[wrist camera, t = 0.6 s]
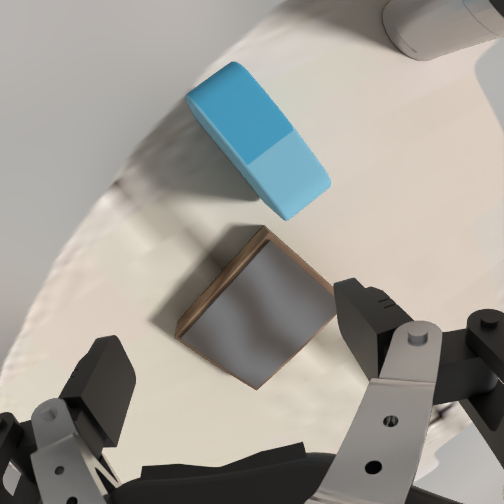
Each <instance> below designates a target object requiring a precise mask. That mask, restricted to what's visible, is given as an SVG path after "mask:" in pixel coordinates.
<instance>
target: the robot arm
mask: <svg viewBox="0 0 504 504" xmlns="http://www.w3.org/2000/svg"><path fill="white" fill-rule="evenodd" d="M383 24H384V27H385V30H386V32H387V34H388V36H389V38H390V39H391V41H392V42H393V43H394V44H395V46H396V47H397V48H398V49H400V50H401V51H402V52H403V53H404V54H406V55H407V56H409V57H411V58H413V59H416V60H420V61H427V60H431V59H434V58H437V57H440V56H443V55H445V54H449V53H452V52H455V51H458V50H461V49H464V48H467V47H470V46H473V45H476V44H480V43H483V42H486V41H490V40H493V39H497V38H500V37H504V0H392V1H391V2H389V3H388V4H387V5H386V6H385V8H384V11H383ZM333 289H334V296H335V304H336V311H337V319H338V325H339V329H340V332H341V335H342V337H343V339H344V340H345V342H346V344H347V345H348V347H349V349H350V350H351V352H352V354H353V355H354V357H355V358H356V360H357V362H358V363H359V365H360V367H361V368H362V370H363V372H364V373H365V375H366V377H367V378H368V380H369V385H368V387H367V390H366V392H365V394H364V397H363V399H362V401H361V404H360V406H359V408H358V411H357V413H356V415H355V417H354V420H353V422H352V424H351V426H350V428H349V430H348V432H347V435H346V437H345V439H344V441H343V443H342V445H341V447H340V449H339V451H338V453H337V455H336V454H330V453H316V452H313V453H306V452H305V448H304V444H303V442H300V443H296V444H292V445H288V446H284V447H280V448H275V449H271V450H266V451H261V452H259V453H256V454H254V455H251V456H249V457H246V458H244V459H241V460H238V461H236V462H233V463H230V464H228V465H225V466H222V467H205V466H194V465H185V464H169V465H154V466H142V471H141V477H140V478H137V479H134V480H131V481H129V482H127V483H124V484H122V483H121V481H120V480H119V478H118V476H117V475H116V473H115V472H114V470H113V468H112V467H111V465H110V463H109V462H108V460H107V458H106V457H105V455H104V454H103V453H102V449H103V448H104V447H117V444H118V441H119V437H120V434H121V430H122V427H123V423H124V420H125V417H126V413H127V410H128V407H129V404H130V400H131V397H132V394H133V391H134V388H135V384H136V375H135V371H134V369H133V366H132V364H131V362H130V360H129V358H128V356H127V354H126V352H125V350H124V348H123V346H122V344H121V342H120V340H119V339H118V337H117V336H115V335H112V336H106V337H101V338H97V339H96V340H95V341H94V343H93V345H92V346H91V348H90V350H89V352H88V353H87V354H86V355H85V356H84V357H83V358H82V359H81V360H80V361H79V362H78V364H77V366H76V367H75V369H74V371H73V372H72V374H71V376H70V378H69V379H68V381H67V383H66V385H65V386H64V388H63V390H62V392H61V394H60V395H59V397H58V398H53V399H49V400H47V401H45V402H43V403H42V404H40V405H39V406H38V407H37V408H36V409H35V410H34V412H33V414H32V416H31V420H29V421H25V422H22V423H19V422H18V421H17V419H16V418H15V417H14V415H13V414H12V413H10V412H4V413H1V414H0V504H463V503H460V502H457V501H454V500H451V499H448V498H445V497H442V496H439V495H437V494H434V493H431V492H428V491H426V490H423V489H420V488H418V487H416V486H413V482H414V478H415V475H416V472H417V468H418V465H419V461H420V458H421V454H422V450H423V446H424V443H425V439H426V434H427V430H428V426H429V421H430V417H431V412H432V407H433V405H438V404H443V403H448V402H453V401H459V403H460V404H461V406H462V407H463V409H464V410H465V411H466V413H467V414H468V416H469V417H470V419H471V420H472V421H473V423H474V424H475V426H476V427H477V429H478V430H479V432H480V433H481V435H482V436H483V438H484V439H485V440H486V442H487V444H488V445H489V447H490V448H491V450H492V451H493V453H494V454H495V456H496V458H497V459H498V461H499V462H500V464H501V465H502V467H503V469H504V384H503V383H504V313H503V312H501V311H498V310H494V309H482V310H478V311H475V312H473V313H472V314H471V315H470V316H469V317H468V319H467V326H466V329H461V330H455V331H450V332H442V331H441V329H440V328H439V327H438V326H437V325H435V324H433V323H431V322H427V321H414V320H413V319H412V318H411V317H410V316H409V315H408V314H407V313H406V312H405V311H404V310H403V309H402V308H401V307H400V306H398V305H396V303H395V302H394V301H393V300H392V299H390V297H389V296H388V295H387V294H386V293H385V292H384V291H382V290H380V289H377V288H374V287H368V288H364V287H363V286H362V285H361V284H360V283H359V282H358V281H357V280H356V279H355V278H350V279H347V280H343V281H340V282H336V283H334V286H333ZM498 378H499V379H500V380H501V381H502V382H503V383H502V382H501V381H500V380H499V379H498ZM9 461H10V462H11V463H12V464H13V465H14V466H15V468H16V469H17V470H18V471H19V472H20V473H21V477H20V479H19V482H18V484H17V487H16V490H15V493H14V495H13V496H12V495H11V494H10V493H9V492H8V491H7V490H6V489H5V487H4V485H3V480H2V479H3V475H4V473H5V470H6V468H7V466H8V464H9ZM503 498H504V487H503Z"/></svg>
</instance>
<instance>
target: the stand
mask: <svg viewBox="0 0 504 504" xmlns="http://www.w3.org/2000/svg"><path fill="white" fill-rule="evenodd" d="M336 314H337V311H336V304H335V296H334V289H333V286H331V285H330V284H329V283H328V282H327V281H326V280H325V279H324V278H323V277H322V276H320V275H319V274H318V273H317V272H316V271H315V270H314V269H313V268H312V267H310V266H309V265H308V264H307V263H306V262H305V261H304V260H303V259H302V258H300V257H299V256H298V255H297V254H296V253H295V252H294V251H293V250H291V249H290V248H289V247H288V246H287V245H286V244H285V243H284V242H282V241H281V240H280V239H279V238H278V237H277V236H276V235H275V234H273V233H272V232H271V231H270V230H269V229H268V228H267V227H266V226H263V227H262V228H261V229H260V230H259V231H258V232H257V233H256V235H255V236H254V237H253V238H252V239H251V240H250V241H249V242H248V243H247V245H246V246H245V247H244V248H243V249H242V250H241V251H240V252H239V253H238V255H237V256H236V257H235V258H234V259H233V260H232V261H231V262H230V263H229V265H228V266H227V267H226V268H225V269H224V270H223V271H222V272H221V273H220V275H219V276H218V277H217V278H216V279H215V280H214V281H213V282H212V284H211V285H210V286H209V287H208V288H207V289H206V290H205V291H204V293H203V294H202V295H201V296H200V297H199V298H198V299H197V300H196V301H195V303H194V304H193V305H192V306H191V307H190V308H189V309H188V310H187V312H186V313H185V314H184V315H183V316H182V317H181V318H180V319H179V321H178V322H177V327H176V332H175V338H176V339H178V340H179V341H180V342H182V343H183V344H185V345H186V346H188V347H189V348H191V349H192V350H194V351H195V352H197V353H198V354H200V355H201V356H203V357H204V358H206V359H207V360H209V361H210V362H212V363H213V364H215V365H216V366H218V367H219V368H221V369H223V370H224V371H226V372H227V373H229V374H230V375H232V376H234V377H235V378H237V379H238V380H240V381H242V382H243V383H245V384H247V385H248V386H250V387H252V388H253V389H255V390H258V389H259V388H260V387H261V386H262V385H263V384H264V383H266V382H267V381H268V380H269V379H270V378H271V377H272V376H273V375H274V374H276V373H277V372H278V371H279V370H280V369H281V368H282V367H283V366H284V365H285V364H286V363H287V362H289V361H290V360H291V359H292V358H293V357H294V356H295V355H296V354H297V353H298V352H299V351H300V350H301V349H302V348H303V347H304V346H305V345H306V344H307V343H308V342H309V341H310V340H311V339H312V338H313V337H315V336H316V335H317V334H318V333H319V332H320V331H321V330H322V329H323V328H324V327H325V326H326V325H327V324H328V323H329V321H330V320H331V319H332V318H333V317H334V316H335V315H336Z"/></svg>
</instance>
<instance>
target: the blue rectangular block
mask: <svg viewBox="0 0 504 504" xmlns="http://www.w3.org/2000/svg"><path fill="white" fill-rule="evenodd" d="M185 99H186V101H187V103H188V105H189V107H190V109H191V111H192V113H193V115H194V117H195V118H196V120H197V121H198V122H199V123H200V125H201V126H202V127H203V128H204V129H205V131H206V132H207V133H208V134H209V135H210V137H211V138H212V139H213V140H214V141H215V143H216V144H217V145H218V146H219V147H220V149H221V150H222V151H223V152H224V154H225V155H226V156H227V157H228V158H229V160H230V161H231V162H232V163H233V165H234V166H235V167H236V168H237V169H238V171H239V172H240V173H241V174H242V176H243V177H244V178H245V179H246V181H247V182H248V183H249V184H250V186H251V187H252V188H253V189H254V191H255V192H256V193H257V194H258V196H259V197H260V198H261V199H262V200H263V202H264V203H265V204H266V205H267V206H269V207H270V208H271V209H272V210H273V211H274V212H275V213H277V214H278V215H279V216H280V217H281V218H282V219H283V220H285V221H288V220H289V219H290V218H292V217H293V216H294V215H295V214H297V213H298V212H299V211H301V210H302V209H303V208H304V207H306V206H307V205H308V204H309V203H311V202H312V201H313V200H314V199H316V198H317V197H318V196H319V195H321V194H322V193H323V192H325V191H326V190H327V189H328V188H330V186H331V180H330V178H329V176H328V174H327V172H326V171H325V169H324V168H323V166H322V165H321V164H320V162H319V161H318V159H317V158H316V157H315V155H314V154H313V153H312V151H311V150H310V148H309V147H308V146H307V144H306V143H305V142H304V140H303V139H302V138H301V136H300V135H299V134H298V132H297V131H296V130H295V129H294V127H293V126H292V125H291V123H290V122H289V121H288V119H287V118H286V117H285V116H284V114H283V113H282V112H281V111H280V109H279V108H278V107H277V106H276V104H275V103H274V102H273V101H272V99H271V98H270V97H269V96H268V95H267V93H266V92H265V91H264V90H263V88H262V87H261V86H260V85H259V84H258V83H257V81H256V80H255V79H254V78H253V77H252V75H251V74H250V73H249V72H248V71H247V70H246V69H245V68H244V67H243V66H242V65H240V64H239V63H237V62H231V63H229V64H228V65H226V66H225V67H223V68H222V69H220V70H219V71H218V72H216V73H215V74H213V75H212V76H211V77H209V78H208V79H207V80H205V81H204V82H202V83H201V84H200V85H198V86H197V87H196V88H194V89H193V90H192V91H191V92H189V93H188V94H187V95H186V96H185Z"/></svg>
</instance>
